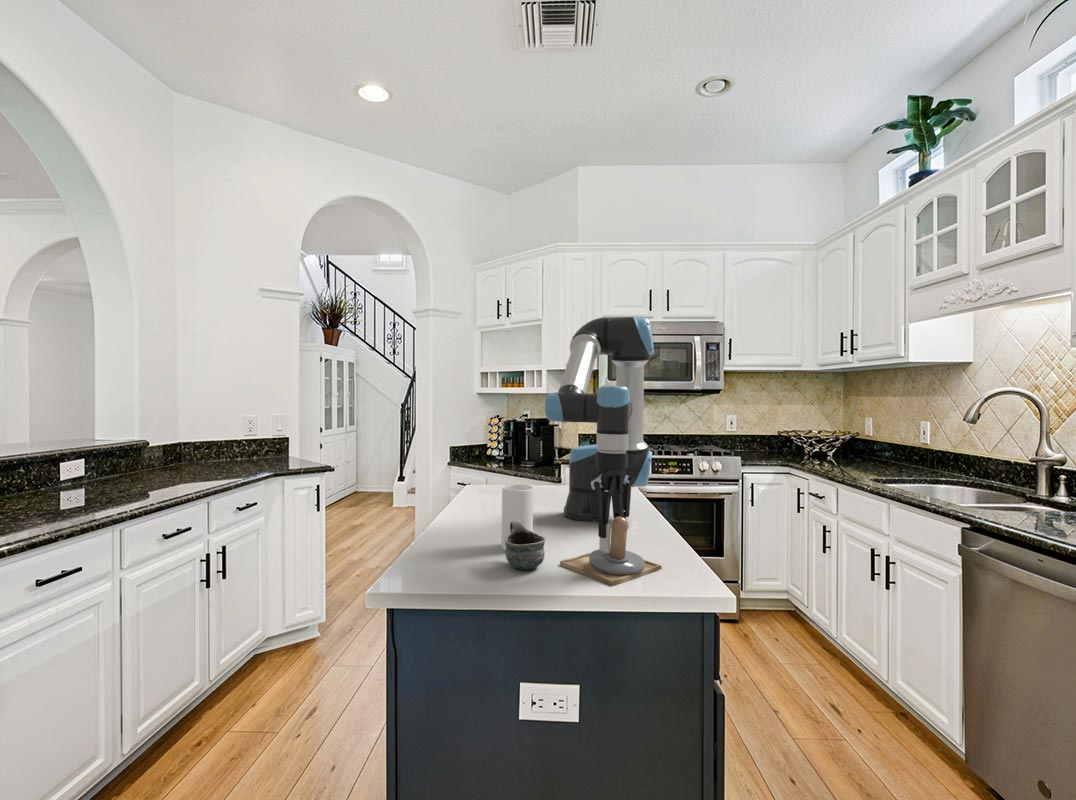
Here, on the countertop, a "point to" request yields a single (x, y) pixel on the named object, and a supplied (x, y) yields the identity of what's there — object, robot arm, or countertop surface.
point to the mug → (524, 547)
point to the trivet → (584, 567)
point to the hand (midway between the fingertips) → (610, 549)
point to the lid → (617, 553)
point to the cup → (516, 508)
